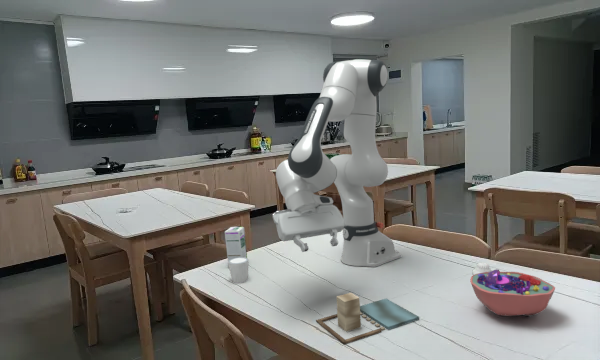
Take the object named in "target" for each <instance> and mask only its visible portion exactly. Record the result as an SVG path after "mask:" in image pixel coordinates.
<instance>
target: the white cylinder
mask: <svg viewBox="0 0 600 360" xmlns="http://www.w3.org/2000/svg"><path fill="white" fill-rule="evenodd" d="M228 263H229V266H228V269H229V272H230V277H231V282H232V283H235V284H241V283H246V282H247V281H249V258H248V257H247V258H244V257H239V258H233V259H231V260H229V261H228V260H227V264H228Z"/></svg>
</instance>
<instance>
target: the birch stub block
mask: <svg viewBox="0 0 600 360" xmlns="http://www.w3.org/2000/svg"><path fill="white" fill-rule="evenodd" d="M335 298H336V310H337V312H336V314H337V315H338V317H337V326H338V327H339V328H340V329H342V330H343V331H344V332H347V333H348V332H351V331H353V330H357V329H360V328H361V327H362V325H361V324H362V323H361V321H362V320H361V315H360V306H361V303H360V302H361V301H360V297H359V296H357V295H355V294H354V293H353V292H348V293H344V294H341V295H336V297H335Z"/></svg>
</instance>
